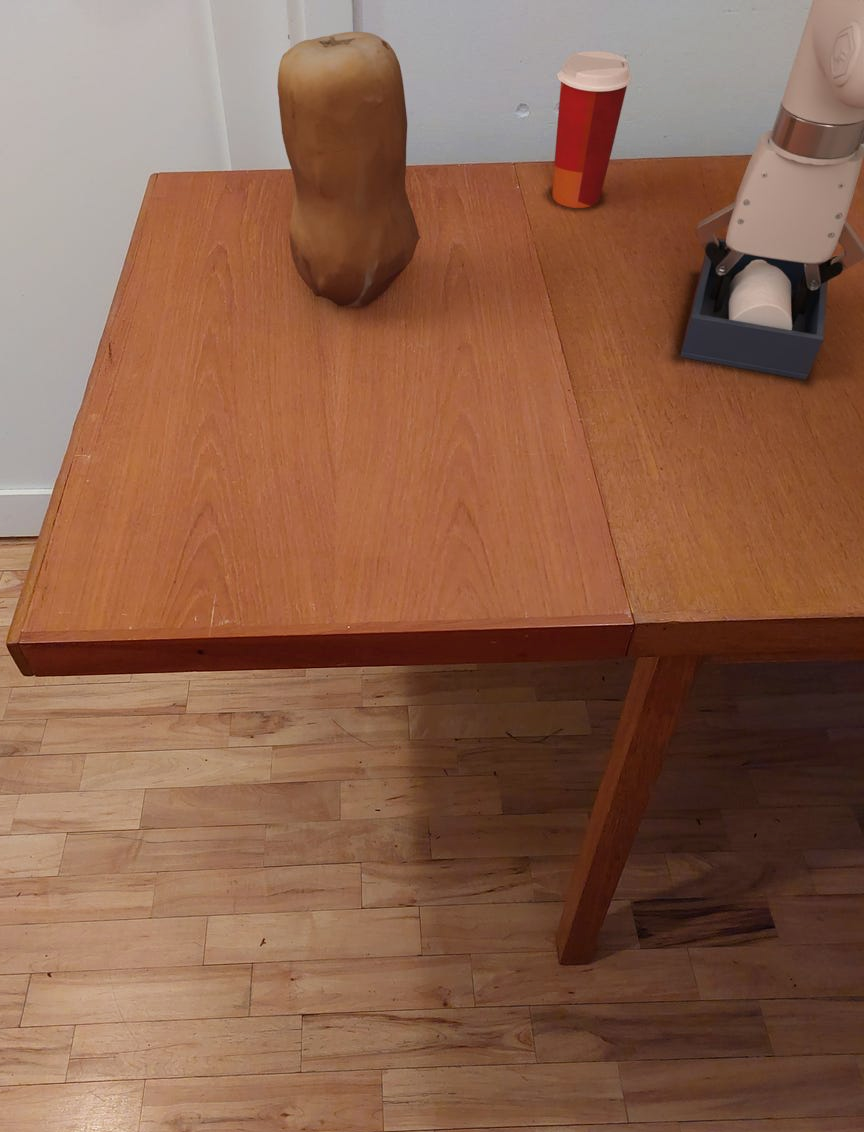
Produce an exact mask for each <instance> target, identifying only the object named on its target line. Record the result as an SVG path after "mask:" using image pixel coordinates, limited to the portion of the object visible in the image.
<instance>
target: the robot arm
mask: <svg viewBox="0 0 864 1132" xmlns="http://www.w3.org/2000/svg"><path fill="white" fill-rule="evenodd" d="M863 145H864V0H812V3H811V6H810V9H809V11H808V15H807V18H806V22H805V25H804V28H803V32H802V35H801V38H800V41H799V44H798V47H797V50H796V54H795V57H794V60H793V63H792V67H791V69H790V73H789V76H788V80H787V82H786V86H785V89H784V92H783V96H782V99H781V101H780V104H779V107H778V110H777V114H776V118H775V120H774V124H773V126H772V129H771V130H769V131H766V132H764V133H762V134H761V137H760V138H759V140H758V142H757V144H756V146H755V148H754V151H753V153H752V154H751V157H750V158H749V161H748V163H747V166H746V169H745V171H744V174H743V177H742V180H741V182H740V185H739V188H738V190H737V194H736V196H735V200H734V202H732V203H730V204H729V205H727V206H725V207H724V208H722V209H720V210H718V211H716V212H715V213H713V214H711V215H709V216H707V217H705V218H704V219H702V220H700V221H699V222H697V224H696V228H695V232H694V233H695V235H696V237H697V239H698V241H699V242H700V243H699V244H700V245H701V246H702V247H703V249H704V251H705V252H704V253H705V254H706V255H707V256H708V258H709V259H710V261H711V262H712V264H713V265H714V267H715V268H716V273H717V274H716V278H715V281H714V284H713V288H712V291H711V295H710V299H713V300H716V301H715V306H714V310H713V312H719V311H720V312H721V309H722V305H723V302H724V299H725V296H726V293H727V290H728V287H729V283H730V280H731V276H732V271H733V266H734V265H735V264H736V263H737V262H738V261H739V259H740V258H741V257H742V256H743V255H744V254H748V255H754V256H760V257H766V258H772V259H779V260H785V261H792V262H799V263H804V268H805V274H803V277H800V279H799V282H798V285H797V287H796V290H795V292H794V295H793V298H792V300H791V317H792V325H794V323H795V321H796V318H797V316H798V314H802V315H804V314H805V312H806V309H807V307H808V304H809V302H810V299H811V297H812V294H813V292H814V290H817V289H818V288H819V287H820V285H821V284H823V283H825V282H826V281H828V282H829V281H831V280H832V279H834V278H836V277H838V276H839V275H841V274H842V273H843V272H844V270H847V269H849V268H851V267H853V266H854V265H856V264H858V263H859V262H861V261H863V260H864V244H863V242H862V241H861V239H860V238H859V236H858V235H857V234H856V232H855V230H854V229H853V227H852V226H851V224H850V223H849V222H848V220H847V216H848V214H849V210H850V208H851V204H852V201H853V198H854V195H855V190H856V186H857V182H858V179H859V176H860V173H861V168H862V164H863V159H864V146H863ZM726 226H727V230H726V237H725V239H726V245H727V246H726V247H725V248H724V247H723V245H722V244H721V242H720V241H719V239H718V238H719V237H717V236H716V233H715V232H717V231H719V230H720V229H722V228H724V227H726ZM838 243H839V244H840V246H841V247H842V249H843V250H844V251H843V252H841V253H840V254H839V255H836V256H833V253H834V252H835V250H836V248H837V245H838ZM832 256H833V257H832ZM823 262H824V263H823ZM821 263H822V264H821Z"/></svg>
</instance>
